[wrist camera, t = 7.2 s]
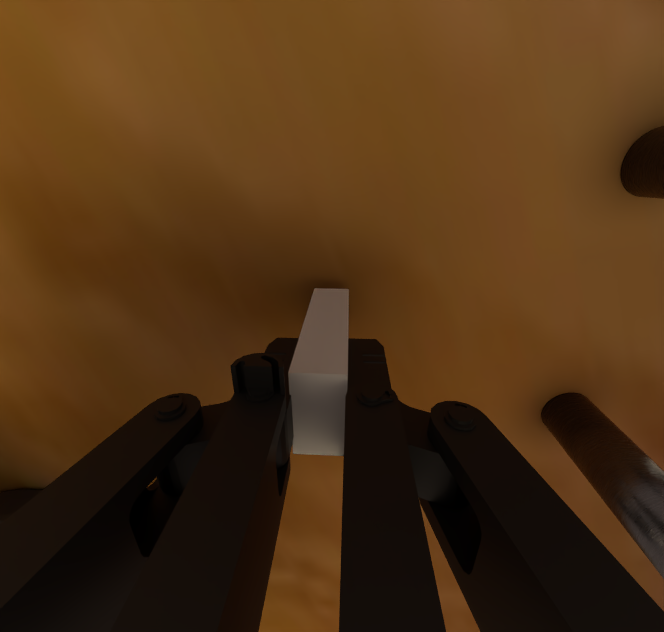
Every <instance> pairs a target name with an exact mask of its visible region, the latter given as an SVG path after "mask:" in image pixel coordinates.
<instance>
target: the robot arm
mask: <svg viewBox="0 0 664 632" xmlns="http://www.w3.org/2000/svg"><path fill="white" fill-rule="evenodd" d="M348 318H349V289H324V288H314V291H313V295H312V298H311V301H310V304H309V307H308V311H307V314H306V317H305V320H304V323H303V327H302V330H301V333H300V336H299V338H276V339H275V340H274V341H273V342H271V343H270V344H269V345H268V347H267V349H266V351H265V353H254V354H250V355H246V356H243V357H241V358H239V359H237V360H236V361H235V362H234V363H233V364H232V365H231V373H232V380H233V387H234V395H233V397H232V399H231V400H230V401H227V402H224V403H220V404H214V405H209V406H203V407H201V404H200V401H199V400H198V398H197V397H196V396H194V395H191V394H185V393H178V394H172V395H168V396H165V397H162V398H160V399H157V400H156V401H154V402H153V403H151V404H149V405H148V406H147V407H145V408H144V409H143V410H142V411H140V412H139V413H138V414H137V415H136V416H134V417H133V418H132V419H131V420H129V421H128V422H127V423H126V424H124V425H123V426H122V427H121V428H119V429H118V430H117V431H116V432H114V433H113V434H112V435H111V436H109V437H108V438H107V439H106V440H104V441H103V442H102V443H101V444H99V445H98V446H97V447H96V448H94V449H93V450H92V451H91V452H89V453H88V454H87V455H86V456H84V457H83V458H82V459H81V460H79V461H78V462H77V463H76V464H74V465H73V466H72V467H71V468H69V469H68V470H67V471H66V472H64V473H63V474H62V475H61V476H60V477H58V478H57V479H56V480H55V481H53V482H52V483H51V484H50V485H48V486H47V487H46V488H45V489H43V490H11V491H5V492H1V493H0V632H258V631H259V626H260V620H261V615H262V610H263V605H264V600H265V595H266V590H267V585H268V580H269V575H270V570H271V565H272V560H273V555H274V550H275V545H276V540H277V535H278V530H279V525H280V520H281V515H282V510H283V505H284V500H285V495H286V490H287V485H288V480H289V474H290V451H291V447H292V443H293V454H312V455H336V456H344V469H343V506H342V543H341V580H340V617H339V632H446V629H445V624H444V619H443V614H442V609H441V605H440V600H439V595H438V590H437V585H436V580H435V575H434V570H433V566H432V561H431V556H430V551H429V546H428V541H427V536H426V532H425V527H424V522H423V517H422V512H421V507H420V504H421V506H422V508H423V510H424V512H425V514H426V517H427V519H428V521H429V523H430V525H431V527H432V529H433V531H434V534H435V536H436V538H437V540H438V542H439V544H440V546H441V548H442V551H443V553H444V555H445V557H446V559H447V561H448V563H449V566H450V568H451V570H452V572H453V574H454V576H455V578H456V580H457V583H458V585H459V587H460V589H461V591H462V593H463V595H464V597H465V600H466V602H467V604H468V606H469V608H470V610H471V612H472V615H473V617H474V619H475V621H476V623H477V625H478V627H479V629H480V632H664V611H663V610H662V609H661V608H660V607H659V606H658V605H657V604H656V603H655V601H654V600H653V599H652V598H651V597H650V596H649V595H648V594H647V593H646V592H645V590H644V589H643V588H642V587H641V586H640V585H639V584H638V583H637V582H636V581H635V579H634V578H633V577H632V576H631V575H630V574H629V573H628V572H627V571H626V570H625V568H624V567H623V566H622V565H621V564H620V563H619V562H618V561H617V560H616V558H615V557H614V556H613V555H612V554H611V553H610V552H609V551H608V550H607V549H606V547H605V546H604V545H603V544H602V543H601V542H600V541H599V540H598V539H597V538H596V536H595V535H594V534H593V533H592V532H591V531H590V530H589V529H588V528H587V527H586V525H585V524H584V523H583V522H582V521H581V520H580V519H579V518H578V517H577V516H576V514H575V513H574V512H573V511H572V510H571V509H570V508H569V507H568V506H567V505H566V503H565V502H564V501H563V500H562V499H561V498H560V497H559V496H558V495H557V493H556V492H555V491H554V490H553V489H552V488H551V487H550V486H549V485H548V484H547V482H546V481H545V480H544V479H543V478H542V477H541V476H540V475H539V474H538V473H537V471H536V470H535V469H534V468H533V467H532V466H531V465H530V464H529V463H528V462H527V460H526V459H525V458H524V457H523V456H522V455H521V454H520V453H519V452H518V451H517V449H516V448H515V447H514V446H513V445H512V444H511V443H510V442H509V441H508V439H507V438H506V437H505V436H504V435H503V434H502V433H501V432H500V431H499V430H498V428H497V427H496V426H495V425H494V424H493V423H492V422H491V421H490V420H489V419H488V417H487V416H486V415H484V414H483V413H482V412H481V411H480V410H478V409H477V408H475V407H473V406H471V405H469V404H466V403H462V402H457V401H444V402H441V403H437V404H436V405H435V406H434V407H433V408H431V413H430V412H426V411H422V410H418V409H415V408H412V407H409V406H407V405H405V404H403V403H402V402H400V401H399V400H398V397H397V395H396V393H395V392H394V391H393V390H392V389H391V384H390V379H389V373H388V368H387V364H386V358H385V352H384V347H383V346H382V345H381V344H380V343H379V342H378V341H377V340H376V339H348ZM156 477H157V479H156V481H155V482H154V483H153V484H151V485H150V486H149V487H148V488H146V487H147V486H148V485H149V484H150V483H151V482H152V481H153V480H154V479H155V478H156ZM418 497H419V498H418ZM419 500H420V502H419Z"/></svg>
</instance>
